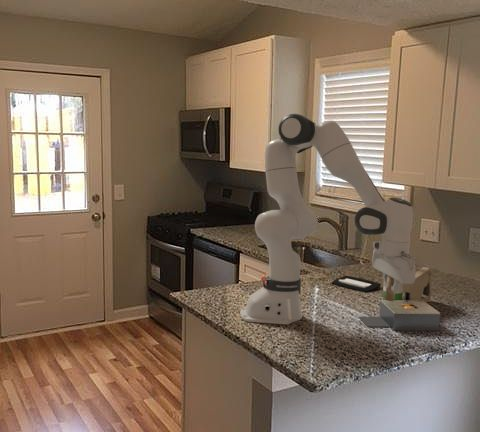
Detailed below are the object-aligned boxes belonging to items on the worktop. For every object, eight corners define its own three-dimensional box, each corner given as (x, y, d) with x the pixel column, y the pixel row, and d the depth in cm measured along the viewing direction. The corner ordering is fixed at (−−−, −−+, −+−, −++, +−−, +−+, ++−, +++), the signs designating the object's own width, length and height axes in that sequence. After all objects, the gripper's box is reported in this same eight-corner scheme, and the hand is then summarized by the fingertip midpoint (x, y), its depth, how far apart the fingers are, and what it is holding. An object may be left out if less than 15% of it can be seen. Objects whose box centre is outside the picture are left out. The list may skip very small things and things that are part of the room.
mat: (367, 327, 180) (367, 326, 180) (358, 317, 190) (359, 316, 190) (390, 327, 181) (390, 326, 181) (380, 317, 191) (380, 316, 191)
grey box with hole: (393, 330, 178) (394, 312, 177) (379, 316, 192) (380, 300, 191) (438, 330, 179) (440, 312, 178) (421, 317, 193) (423, 300, 192)
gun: (424, 299, 216) (426, 264, 213) (432, 300, 214) (434, 265, 211) (400, 318, 198) (402, 280, 194) (408, 320, 196) (410, 282, 192)
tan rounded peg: (384, 299, 171) (386, 276, 170) (385, 297, 174) (388, 274, 173) (393, 301, 170) (396, 278, 169) (394, 299, 173) (397, 275, 172)
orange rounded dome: (405, 314, 183) (406, 309, 182) (401, 310, 187) (401, 305, 186) (416, 314, 183) (417, 309, 183) (412, 311, 187) (412, 305, 187)
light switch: (328, 280, 234) (345, 272, 244) (328, 286, 235) (345, 278, 245) (367, 290, 221) (383, 281, 231) (367, 296, 221) (383, 287, 231)
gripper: (423, 256, 160) (417, 299, 163) (387, 241, 180) (382, 280, 182) (405, 256, 159) (400, 300, 161) (370, 241, 178) (366, 280, 180)
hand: (390, 289), depth 172 cm, fingers closed on tan rounded peg, 3 cm apart
